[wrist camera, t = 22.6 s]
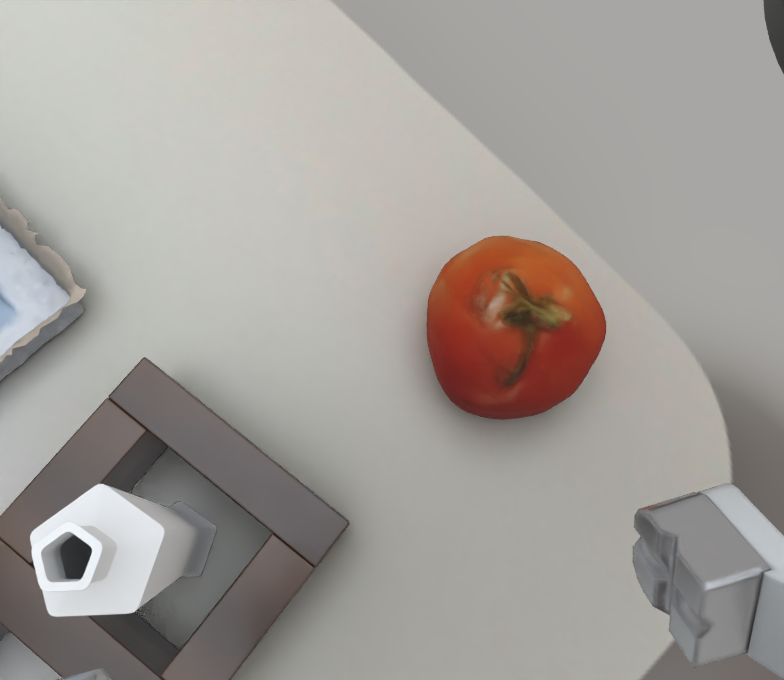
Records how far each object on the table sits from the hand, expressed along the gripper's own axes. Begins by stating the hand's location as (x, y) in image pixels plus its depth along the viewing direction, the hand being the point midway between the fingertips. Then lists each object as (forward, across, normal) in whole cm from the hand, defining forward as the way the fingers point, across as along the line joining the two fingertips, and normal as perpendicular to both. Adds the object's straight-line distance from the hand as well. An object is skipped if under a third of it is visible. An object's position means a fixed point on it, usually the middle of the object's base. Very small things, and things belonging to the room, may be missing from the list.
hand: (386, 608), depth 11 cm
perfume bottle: (+21, +9, +18) cm, 29 cm away
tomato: (+25, -10, +14) cm, 30 cm away
